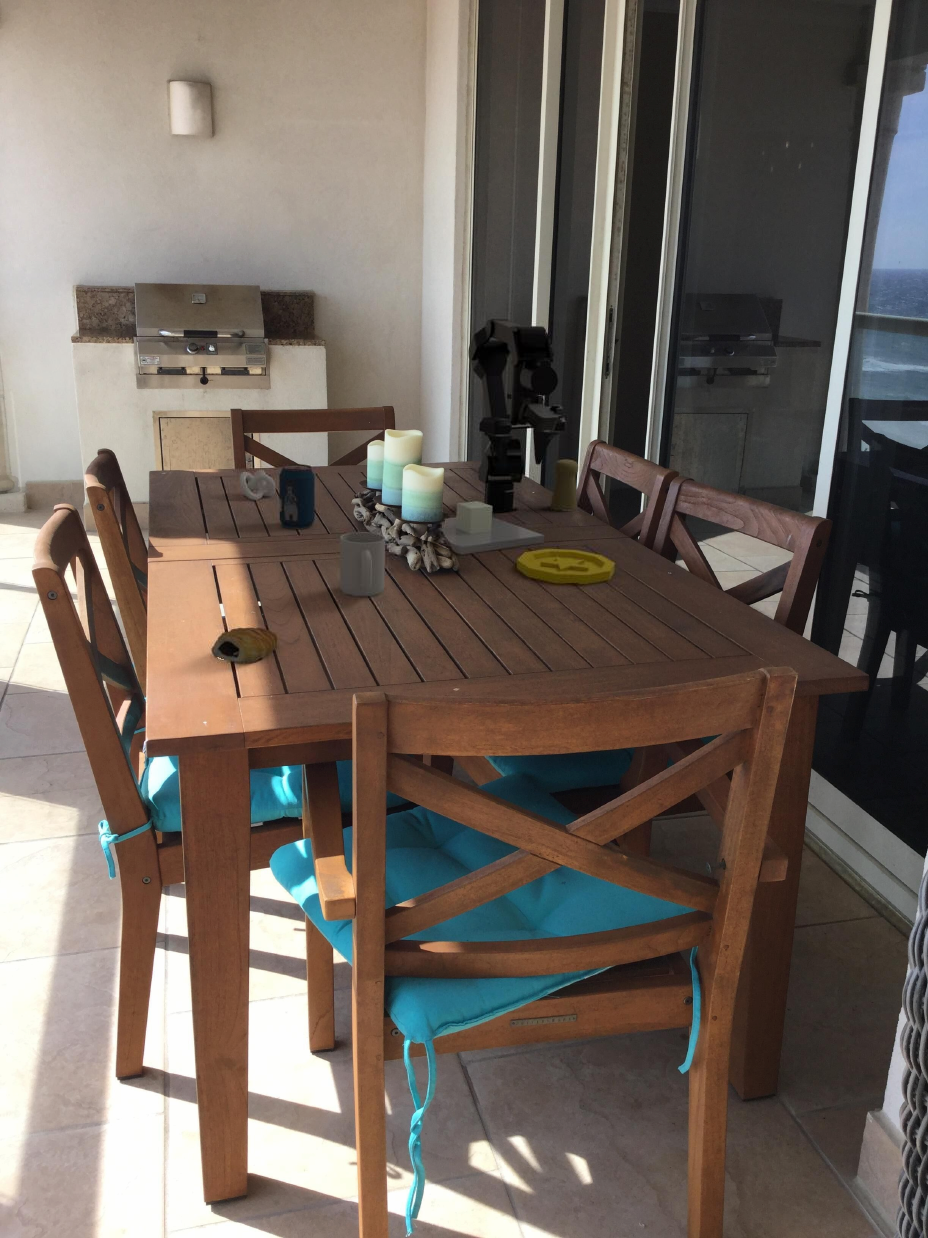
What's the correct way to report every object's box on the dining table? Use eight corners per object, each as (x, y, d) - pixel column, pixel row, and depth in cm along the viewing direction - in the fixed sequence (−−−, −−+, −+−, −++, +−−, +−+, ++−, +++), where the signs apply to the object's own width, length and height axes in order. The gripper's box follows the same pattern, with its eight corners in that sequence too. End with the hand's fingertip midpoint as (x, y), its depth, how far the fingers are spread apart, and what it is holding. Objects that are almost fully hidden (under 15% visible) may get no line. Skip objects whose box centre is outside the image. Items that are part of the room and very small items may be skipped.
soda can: (311, 521, 215) (311, 463, 211) (317, 529, 209) (317, 469, 205) (277, 522, 213) (276, 463, 209) (282, 530, 206) (282, 470, 203)
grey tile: (403, 531, 210) (403, 523, 210) (483, 520, 221) (483, 514, 221) (460, 554, 195) (461, 546, 194) (543, 542, 206) (544, 535, 206)
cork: (576, 506, 239) (580, 458, 236) (576, 512, 233) (580, 463, 230) (550, 504, 240) (553, 456, 236) (549, 510, 234) (553, 461, 230)
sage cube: (456, 528, 208) (457, 503, 207) (476, 525, 211) (477, 501, 209) (470, 533, 204) (471, 508, 203) (491, 530, 207) (492, 506, 206)
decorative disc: (547, 554, 200) (547, 544, 199) (630, 572, 190) (631, 561, 190) (499, 572, 186) (499, 561, 186) (585, 592, 177) (586, 580, 176)
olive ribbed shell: (251, 639, 148) (250, 613, 147) (290, 648, 145) (290, 622, 144) (207, 659, 140) (206, 632, 139) (248, 669, 137) (247, 642, 136)
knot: (234, 494, 236) (233, 468, 234) (269, 492, 239) (268, 467, 237) (242, 501, 229) (241, 475, 228) (278, 499, 233) (277, 473, 231)
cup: (381, 583, 175) (382, 531, 173) (389, 601, 166) (390, 547, 163) (337, 584, 174) (338, 532, 171) (344, 602, 165) (344, 548, 162)
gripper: (513, 395, 202) (509, 476, 207) (586, 392, 212) (580, 469, 217) (479, 389, 210) (475, 466, 215) (550, 386, 221) (545, 460, 225)
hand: (520, 465), depth 218 cm, fingers open, 9 cm apart
